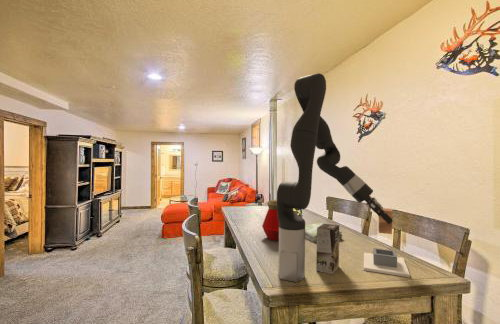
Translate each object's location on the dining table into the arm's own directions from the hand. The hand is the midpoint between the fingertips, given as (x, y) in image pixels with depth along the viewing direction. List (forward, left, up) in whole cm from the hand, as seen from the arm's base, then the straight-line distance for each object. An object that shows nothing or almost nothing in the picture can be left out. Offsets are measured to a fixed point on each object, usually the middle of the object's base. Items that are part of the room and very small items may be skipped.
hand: (390, 220), depth 106 cm
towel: (+31, +33, -18) cm, 49 cm away
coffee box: (-13, +22, -18) cm, 31 cm away
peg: (0, +2, -5) cm, 5 cm away
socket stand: (0, +2, -18) cm, 18 cm away
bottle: (+16, +52, -18) cm, 57 cm away
